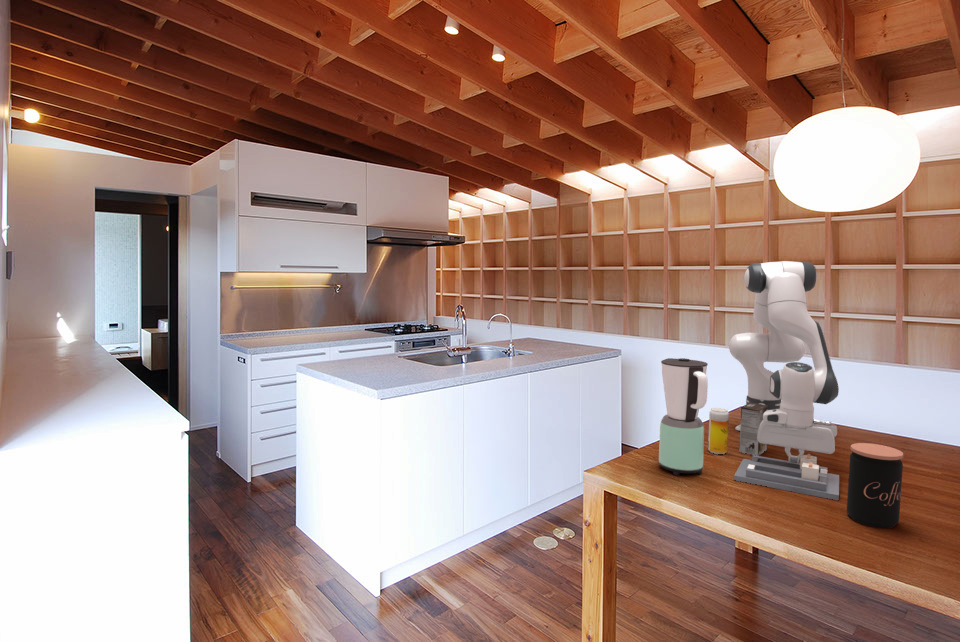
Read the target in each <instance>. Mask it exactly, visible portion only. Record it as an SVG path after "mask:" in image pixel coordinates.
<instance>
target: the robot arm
mask: <svg viewBox="0 0 960 642" xmlns="http://www.w3.org/2000/svg"><path fill="white" fill-rule="evenodd" d="M816 268H817V267H816V266H815V265H814V264H813V263H812V262H809V261H808V262H807V261H791V260H780V261H769V262H768V261H767V262H762V263H761V262H755V263H751V264H749V265H748V266H747V268H746V270H745V273H744V277H743V279H744V285H745V287H746V289H747V290H748V291H749V292H751V293H755V297H754V306H753V315H752V317H753V320H754V322H755V323H756V324H757V325H758V326H759V327H762V328H764V329H766V330H768V331H769V332H766V333H765V332H743V333H736V334H734V335H733V336H732V337H730V341H729V343H728V349H729V350H728V351H729V353H730V354H731V356H732V357H733V358H734V359H735V360H737V361H738V363H740V364H741V365H742V367H743V368H744V369H745V372H746V375H747V376H746V377H747V395H746V397H745V398H746V399H745V401H746V402H745V405H746V404H748V403H757V404H762V405H767V406H768V410H767V411H765V412H764V414H763V420H762V422H761V424H760V426H759V429H758V435H757V440H758V441H759V443H763V444H767V445H770V446H776V447H784V452H785V454H786V456H787V457H788V458H787V459H788V460H787V461H788V462H793V463H800V458H801V456H802V455H805V451H808V452H809V451H810V452H814V453H815V452H816V453H822V454H828V455H832V454H834V453H835V451H836V449H835V447H836V441H835V438H836V437H837V435H838V426H837V425H836V424H834V423H833V422H832V421H829V420H826V421H824V420H820V419H815V418H814V417H815V414H814V413H815V406H814V404H821V405H827V404H830V403H831V402H833V401H834V400H835V399H836V398H837V397H839V391H840V390H839V389H840V388H839V384H838V383H839V382H838V379H837V376H836V375H835V372H834V369H833V366H832V363H831V358H830V354H829V351H828V346H827V343H826V339H825V336H824V332H823V329H822V327H821V325H820V323H819V322H818V321H815V320H814V319H813V318H812V316H811V315H810V313H809V311H808V307H807V296H806V293H807V292H811V291H812V289H814V288H815V287H816V283H817V280H818V272H817V269H816ZM805 344H806V345H807V347H809V348H808V349H809V350H810V356H811V359H812V363H813V366H812V365H810V364H808V363H804V362H799V361H800V360H801V359H802V358H803V357H804V355H805V352H806V345H805ZM764 363H783V364H784V363H785V364H784V365H783V367H782V368H783V369H779V370H776V371H774V372H773V371H771V370H769V369H767V368H766V367H765V365H764ZM740 425H741V423H739V425H737V426H735V430H736V431H739V432H740ZM791 449H796V450H798V455H793V454H791Z"/></svg>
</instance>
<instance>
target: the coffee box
mask: <svg viewBox="0 0 960 642" xmlns="http://www.w3.org/2000/svg"><path fill="white" fill-rule="evenodd" d="M767 410H768V406H767V405H762V404H757V403H748V404H746V403H745V404H744V405H742V406H741V407H740V424H741V425H740V424H739V425H740V431H739V453H741V452H742V453H741V454H745V453H747V454H746V455H750V454H752V455H751V456H753V455H756V456H761V455H762V454H763V453H765V452H766V451H767V450H768V444H763V443H759V441H758V440H757V435H758V429H759V426H760V424H761V422H762V420H763V414H764V412H765V411H767ZM764 451H765V452H764Z"/></svg>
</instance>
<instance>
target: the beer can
mask: <svg viewBox="0 0 960 642" xmlns="http://www.w3.org/2000/svg"><path fill="white" fill-rule="evenodd" d="M728 410H729V409H727V408H722V407H711V409H710V410H709V419H708V420H709V421H708V442H707V443H708V445H707V449H708V451H709V452H710V454H713V453H714V454H713V455H718V454H723V455H725V453H726V454H727V452H728V447H729V446H728V445H729V443H728V441H729V418H730V413H729V411H728Z"/></svg>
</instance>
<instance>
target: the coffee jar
mask: <svg viewBox="0 0 960 642" xmlns="http://www.w3.org/2000/svg"><path fill="white" fill-rule="evenodd" d="M850 451H851V452H850V455H849V467H848V468H849V469H848V481H847V482H848V485H847V497H846V498H847V499H846V500H847V503H846V512H847V514H848V515H849V517H850V518H851V519H852V520H853V521H854V522H855V521H856V522H857V523H859V524H861V525H865V526H869V527H873V528H878V529H891V528H894V527H895V526H896V525H898V523H900V513H901V510H900V509H901V498H902V496H901V495H902V487H903V486H902V482H903V472H904V471H903V469H904V465H903V462H902V459H904V453H903V452H902V451H901V449H900V450H899V449H897V448H894V447H891V446H888V445H887V446H886V445H884V444H883V445H882V444H877V443H868V442H856V443H853V444H851V445H850Z"/></svg>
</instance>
